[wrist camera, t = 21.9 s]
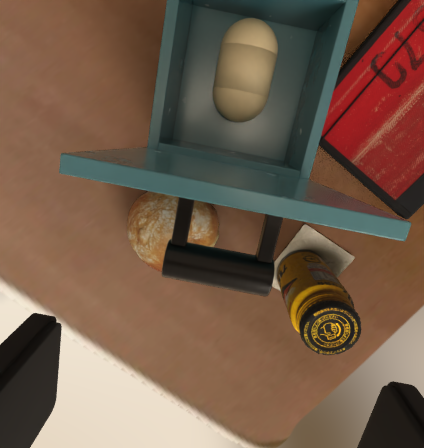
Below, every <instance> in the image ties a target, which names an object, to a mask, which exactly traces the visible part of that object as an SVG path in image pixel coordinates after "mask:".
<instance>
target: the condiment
mask: <svg viewBox="0 0 424 448" xmlns="http://www.w3.org/2000/svg"><path fill="white" fill-rule="evenodd" d="M354 258H355V257H353V256H352V255H350V254H349V253H347V252H346V251H345V250H343V249H342V248H340V247H339V246H337V245H336V244H334V243H333V242H331V241H330V240H328V239H327V238H326V237H324V236H322V235H321V234H320V233H318V232H317V231H315V230H314V229H312V228H311V227H309V226H308V225H306V224H304V226H303V227H302V228H301V230H300V231H299V232H298V233H297V234H296V236H295V237H294V238H293V240H292V241H291V242H290V243H289V245H288V246H287V247H286V248H285V250H284V251H283V252H282V253H281V254H280V256H279V257H278V258H277V259H276V261H275V262H274V265H275V272H274V280H273V284H272V286H273V287H274V288H276V289H278V290H279V291H281V293H282V296H283V299H284V301H285V305H286V307H287V310H288V313H289V317H290V319H291V322H292V324H293V326H294V328H295V329H296V330H297V331H298V332H299V333H300V335H301V338H302V340H303V342H304V343H305V345H306V346H307V347H309V348H310V349H311V350H313V351H314V352H316V353H318V354H323V355H334V354H340V353H342V352H345V351H346V350H348V349H350V348H351V347H352V346H353V345H354V344H355V343H356V342H357V341H358V339H359V337H360V334H361V321H360V317H359V316H358V313H357V312H356V311H355V309H354V304H353V301H352V298H351V297H350V295H349V294H348V292H347V291H346V290H345V288H344V287H343V286H342V284H341V283H340V282H339V280H338V279H337V277H338V276H339V275H340V274H341V273H342V271H343V270H344V269H345V268H346V267H347V266H348V265H349V264H350V263H351V262H352V261H353V259H354Z"/></svg>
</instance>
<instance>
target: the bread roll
mask: <svg viewBox="0 0 424 448" xmlns="http://www.w3.org/2000/svg"><path fill="white" fill-rule="evenodd" d="M178 199H179V197H176V196H171V195H166V194H161V193H156V192H151V191H149V192H146V193H145V194H143V195H142V196H140V197H139V198H138V199H137V200H136V201H135V202H134V203H133V205H132V207H131V209H130V211H129V215H128V219H127V234H128V238H129V241H130V244H131V245H132V248H133V249H134V250H135V252H136V253H137V254H138V256H139V258H140V259H141V260H142V261H143V262H145V263H146V264H147V265H148V266H151V267H152V268H154V269H156V270H158V271H160V272H162V265H163V260H164V255H165V251H166V247H167V244H168V241H169V240H170V239H172V234H173V228H174V222H175V216H176V211H177V205H178ZM218 227H219V221H218V216H217V213H216V211H215V209H214V208H213V206H212V205H211V204H210V203H207V202H202V201H197V200H195V203H194V208H193V213H192V219H191V224H190V230H189V235H188V240H187V242H189V243H194V244H199V245H204V246H210V247H213V246H214V245H215V244H216V242H217V239H218V237H219V231H218Z"/></svg>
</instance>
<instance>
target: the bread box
mask: <svg viewBox="0 0 424 448" xmlns="http://www.w3.org/2000/svg"><path fill="white" fill-rule="evenodd" d="M358 2H359V0H167V3H166V11H165V18H164V26H163V33H162V41H161V48H160V56H159V63H158V71H157V78H156V85H155V93H154V100H153V108H152V115H151V123H150V130H149V138H148V145H147V147H148V148H153V149H158V150H163V151H168V152H173V153H178V154H183V155H188V156H193V157H198V158H203V159H208V160H213V161H218V162H223V163H228V164H233V165H238V166H243V167H248V168H253V169H258V170H263V171H268V172H273V173H278V174H283V175H288V176H293V177H298V178H303V179H308V180H309V177H310V173H311V170H312V166H313V163H314V159H315V155H316V152H317V148H318V145H319V141H320V138H321V134H322V130H323V127H324V123H325V120H326V116H327V113H328V109H329V106H330V102H331V98H332V95H333V91H334V88H335V84H336V81H337V77H338V73H339V70H340V66H341V63H342V59H343V56H344V52H345V48H346V45H347V41H348V38H349V34H350V31H351V27H352V23H353V20H354V16H355V13H356V9H357V6H358ZM246 18H255V19H259V20H261V21H264V22H265V23H266V24H267V25H269V26H270V28H271V29H272V30H273V32H274V34H275V36H276V39H277V43H278V53H277V59H276V64H275V68H274V73H273V77H272V82H271V86H270V91H269V95H268V99H267V102H266V105H265V107H264V109H263V110H262V111H261V113H260V114H259V115H257V116H256V117H255V118H253V119H251V120H249V121H246V122H234V121H230V120H228V119H226V118H225V117H224V116H222V115H221V114H220V113H219V111H218V110H217V108H216V106H215V104H214V100H213V86H214V81H215V75H216V69H217V64H218V58H219V53H220V47H221V43H222V39H223V37H224V35H225V33H226V32H227V30H228V29H229V28H230V27H231V26H232V25H233V24H234V23H236V22H238V21H239V20H242V19H246Z"/></svg>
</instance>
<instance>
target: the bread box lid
mask: <svg viewBox="0 0 424 448" xmlns="http://www.w3.org/2000/svg"><path fill="white" fill-rule="evenodd" d="M59 173H61V174H65V175H70V176H75V177H80V178H85V179H90V180H95V181H100V182H105V183H110V184H115V185H121V186H126V187H131V188H136V189H141V190H146V191H151V192H156V193H161V194H166V195H171V196H176V197H179V199H178V205H177V211H176V216H175V222H174V228H173V234H172V239H170V240H169V241H168V244H167V247H166V251H165V255H164V260H163V265H162V276H163V277H166V278H171V279H177V280H182V281H187V282H192V283H197V284H203V285H208V286H213V287H218V288H224V289H229V290H234V291H239V292H245V293H250V294H255V295H260V296H268V294H269V293H270V291H271V288H272V284H273V280H274V272H275V265H274V260H273V256H274V252H275V248H276V244H277V240H278V236H279V232H280V228H281V224H282V220H283V218H288V219H293V220H298V221H303V222H308V223H313V224H318V225H323V226H329V227H334V228H339V229H344V230H349V231H354V232H359V233H364V234H369V235H374V236H379V237H384V238H389V239H395V240H400V241H405V240H406V238H407V235H408V232H409V229H410V226H411V222H409V221H406V220H404V219H402V218H399V217H397V216H395V215H392V214H390V213H387V212H385V211H383V210H380V209H378V208H376V207H373V206H371V205H368V204H366V203H364V202H361V201H359V200H357V199H354V198H352V197H349V196H347V195H345V194H342V193H340V192H338V191H335V190H333V189H330V188H328V187H326V186H323V185H321V184H319V183H316V182H314V181H311V180H308V179H303V178H298V177H293V176H288V175H283V174H278V173H273V172H268V171H263V170H258V169H253V168H248V167H243V166H238V165H233V164H228V163H223V162H218V161H213V160H208V159H203V158H198V157H193V156H188V155H183V154H178V153H173V152H168V151H163V150H158V149H153V148H148V147H142V148H128V149H113V150H99V151H85V152H70V153H61V157H60V169H59ZM195 200H197V201H202V202H207V203H212V204H217V205H222V206H227V207H232V208H237V209H242V210H247V211H252V212H258V213H263V214H266V215H265V219H264V223H263V227H262V231H261V235H260V240H259V244H258V248H257V252H256V255H251V254H246V253H240V252H235V251H230V250H225V249H220V248H215V247H210V246H204V245H199V244H194V243H189V242H187V240H188V235H189V230H190V224H191V219H192V213H193V208H194V203H195Z"/></svg>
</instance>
